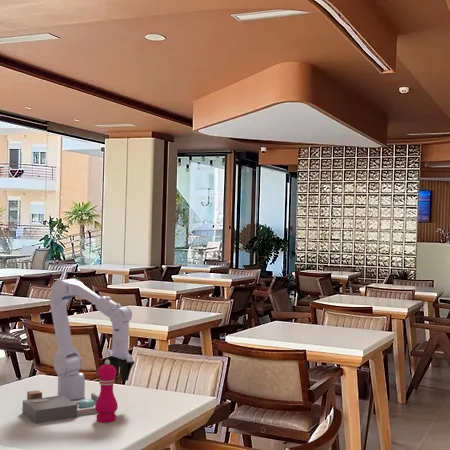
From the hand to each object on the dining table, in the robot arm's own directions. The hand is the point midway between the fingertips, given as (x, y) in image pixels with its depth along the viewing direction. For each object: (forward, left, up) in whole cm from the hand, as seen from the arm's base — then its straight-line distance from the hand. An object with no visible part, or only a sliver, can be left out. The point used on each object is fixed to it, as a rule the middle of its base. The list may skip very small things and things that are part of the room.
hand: (119, 378), depth 235 cm
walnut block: (+27, -13, -9) cm, 31 cm away
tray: (+14, 0, -9) cm, 16 cm away
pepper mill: (+12, +15, -10) cm, 21 cm away
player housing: (+26, 0, -9) cm, 27 cm away
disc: (+13, 0, -8) cm, 15 cm away
